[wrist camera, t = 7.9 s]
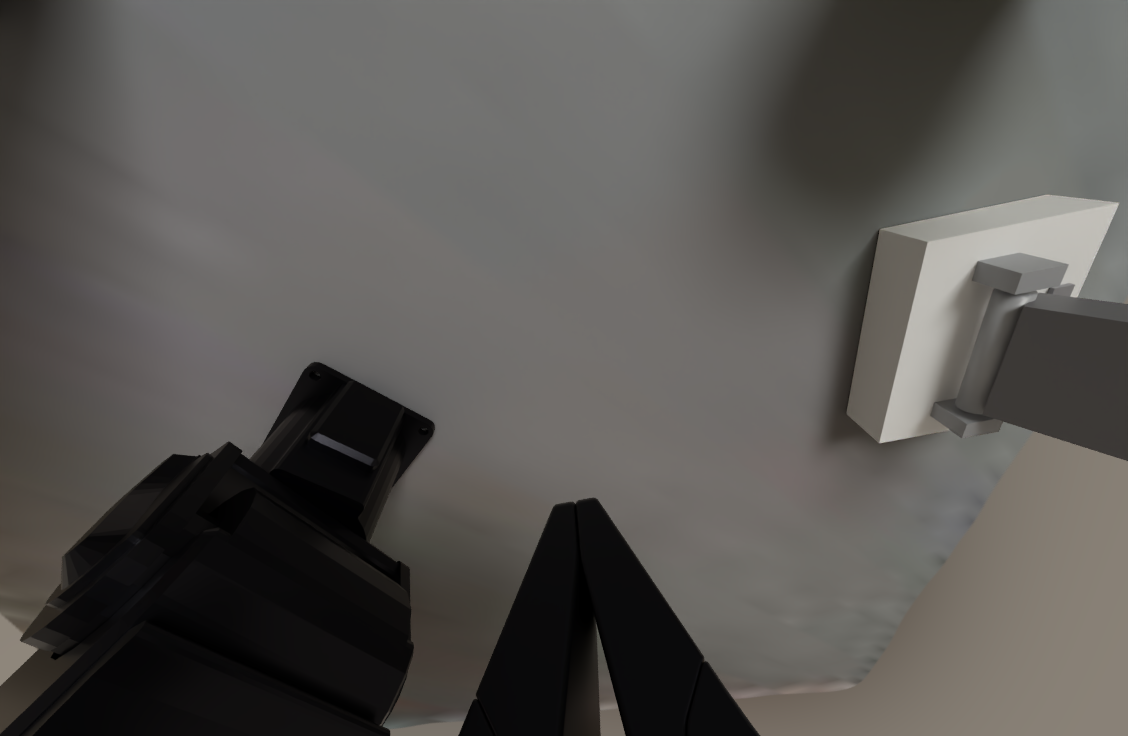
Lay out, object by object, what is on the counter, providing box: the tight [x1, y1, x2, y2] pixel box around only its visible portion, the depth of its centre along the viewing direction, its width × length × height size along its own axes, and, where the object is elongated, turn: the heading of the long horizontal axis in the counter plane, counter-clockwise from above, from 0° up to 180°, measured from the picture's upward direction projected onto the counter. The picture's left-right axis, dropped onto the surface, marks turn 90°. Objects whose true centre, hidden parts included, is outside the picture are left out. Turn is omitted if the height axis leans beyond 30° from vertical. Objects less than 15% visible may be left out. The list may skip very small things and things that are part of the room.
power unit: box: [846, 195, 1119, 443], centre depth 18 cm, size 7×10×4 cm
